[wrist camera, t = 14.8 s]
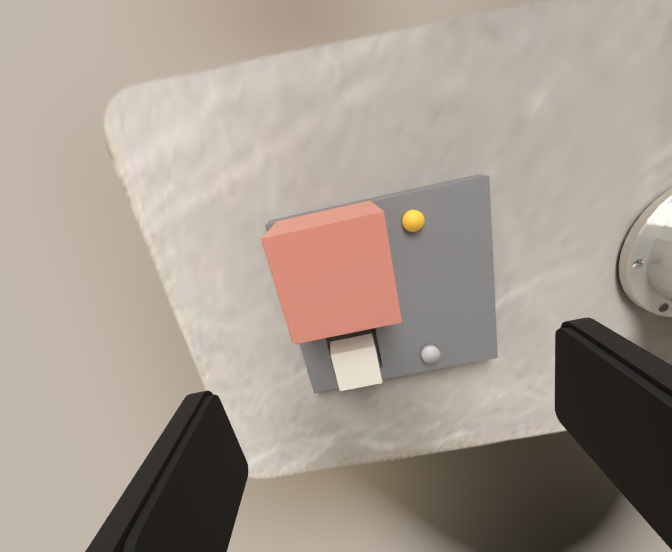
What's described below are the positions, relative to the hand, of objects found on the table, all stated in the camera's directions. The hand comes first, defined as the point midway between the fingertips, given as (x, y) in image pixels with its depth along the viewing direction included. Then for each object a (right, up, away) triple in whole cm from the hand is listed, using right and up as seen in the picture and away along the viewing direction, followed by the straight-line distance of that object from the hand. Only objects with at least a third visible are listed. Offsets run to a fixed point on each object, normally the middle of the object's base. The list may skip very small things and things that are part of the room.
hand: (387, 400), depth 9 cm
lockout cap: (-2, +5, +16) cm, 17 cm away
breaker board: (+3, +2, +19) cm, 20 cm away
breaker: (0, -3, +19) cm, 19 cm away
